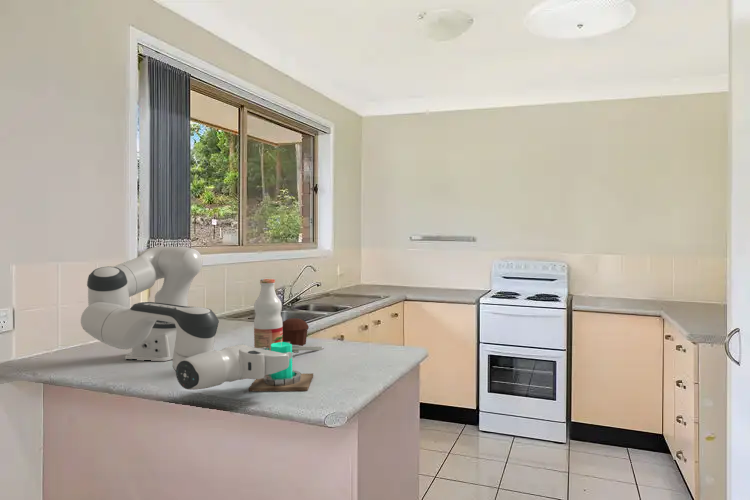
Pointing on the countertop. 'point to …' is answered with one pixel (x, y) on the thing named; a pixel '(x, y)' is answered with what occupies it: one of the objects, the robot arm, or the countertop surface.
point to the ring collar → (286, 381)
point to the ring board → (299, 386)
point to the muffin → (295, 331)
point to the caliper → (304, 348)
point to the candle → (287, 347)
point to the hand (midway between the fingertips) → (278, 352)
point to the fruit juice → (267, 316)
